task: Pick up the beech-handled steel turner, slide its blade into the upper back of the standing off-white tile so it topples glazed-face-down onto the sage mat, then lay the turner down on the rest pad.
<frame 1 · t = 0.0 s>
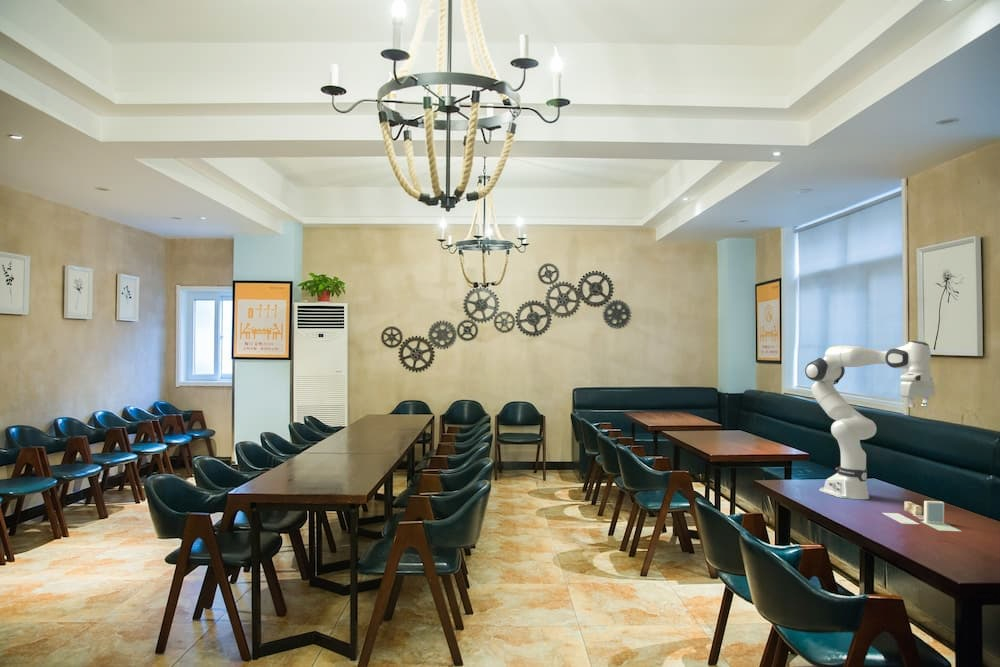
hand: (918, 407, 283), 48 cm above the table, fingers open, 8 cm apart
rest pad: (900, 519, 270), on the table
mat: (940, 526, 260), on the table
tile: (933, 522, 265), resting on mat
turner: (912, 513, 280), on the table
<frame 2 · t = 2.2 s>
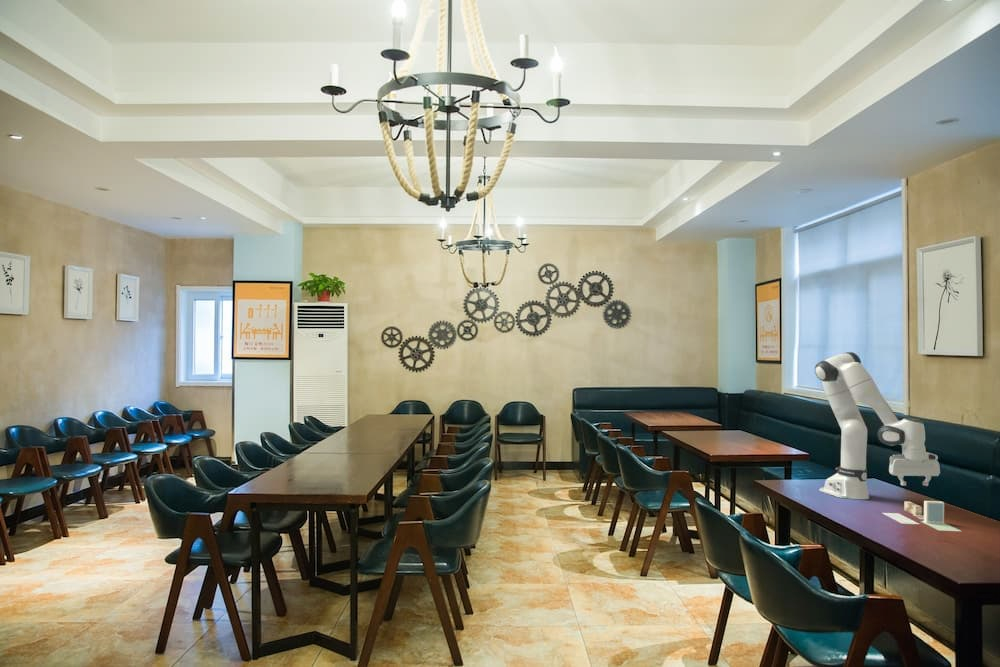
hand: (914, 485, 280), 13 cm above the table, fingers open, 8 cm apart
nothing on the table moved.
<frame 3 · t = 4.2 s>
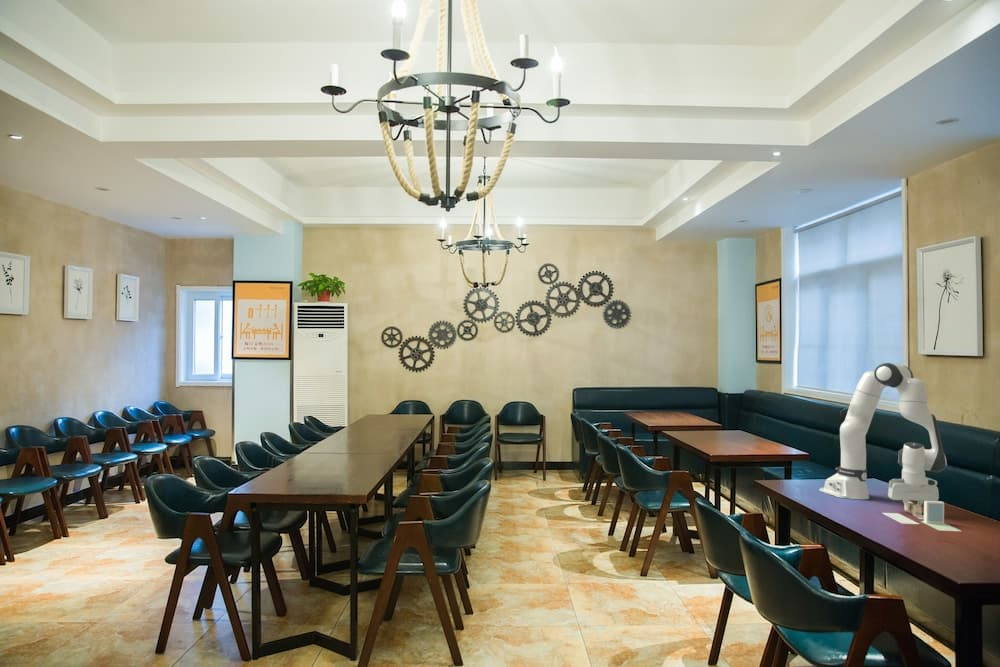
hand: (912, 510, 280), 2 cm above the table, fingers closed on turner, 2 cm apart
turner: (912, 513, 280), on the table, touching gripper
everything else where it was.
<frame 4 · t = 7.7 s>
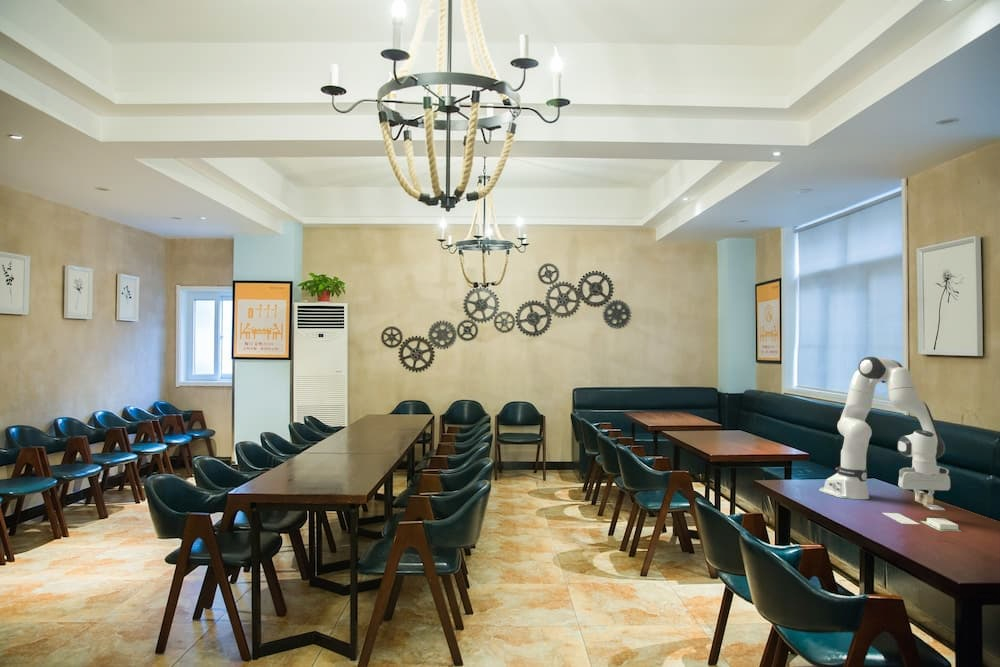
hand: (923, 499, 273), 8 cm above the table, fingers closed on turner, 2 cm apart
tile: (935, 520, 264), point 2 cm above the table, tilted 90°, touching mat
turner: (923, 503, 273), point 7 cm above the table, touching gripper
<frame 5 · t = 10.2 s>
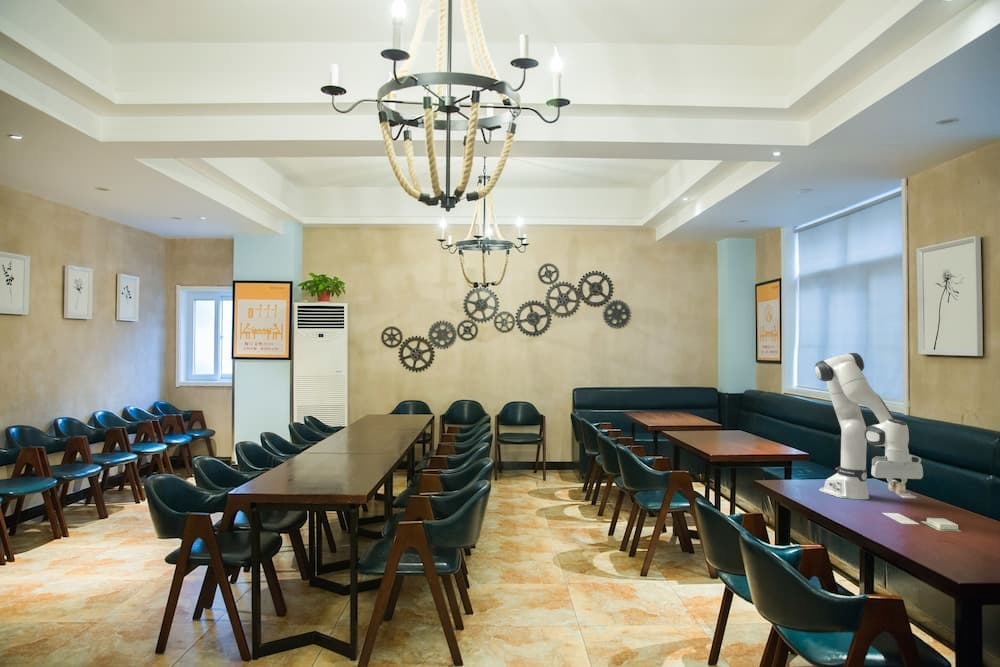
hand: (896, 488, 273), 13 cm above the table, fingers closed on turner, 2 cm apart
turner: (896, 492, 273), point 11 cm above the table, touching gripper
everything else where it was.
when the fingers open (3 cm above the table, at t = 12.2 s): turner stays where it is, resting on rest pad.
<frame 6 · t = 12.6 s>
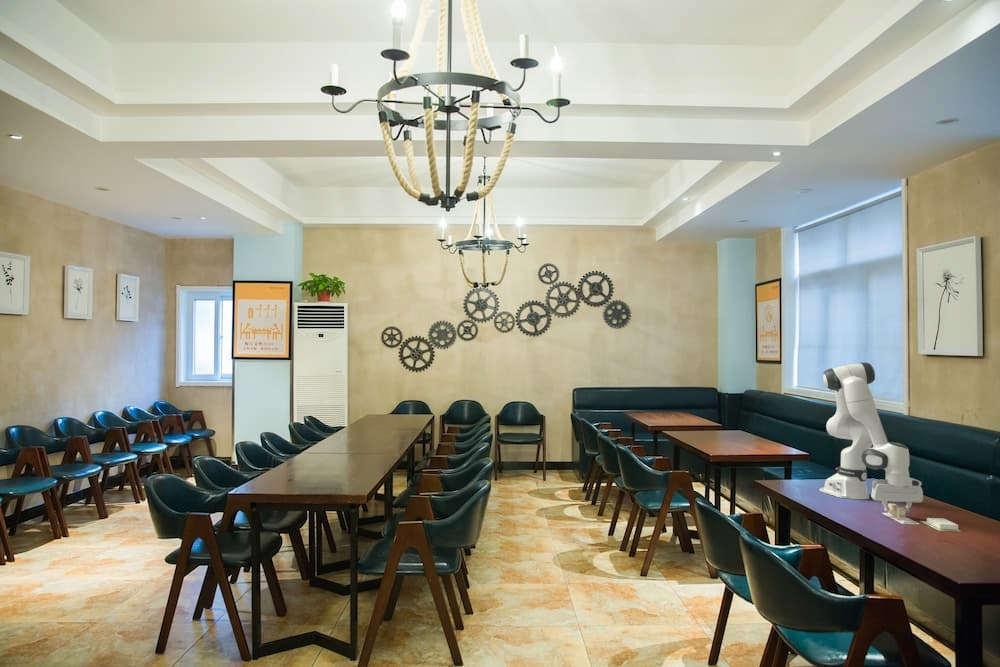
hand: (896, 511, 273), 3 cm above the table, fingers open, 7 cm apart
turner: (896, 516, 273), point 1 cm above the table, touching rest pad
everything else where it was.
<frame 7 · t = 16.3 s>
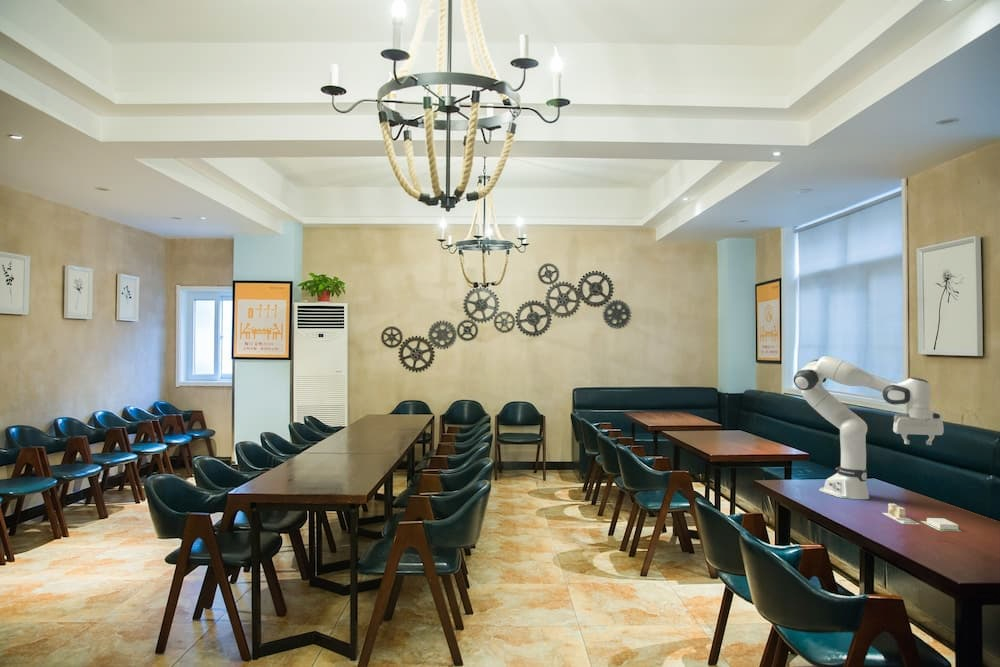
hand: (917, 444, 281), 31 cm above the table, fingers open, 8 cm apart
nothing on the table moved.
at the end: tile tilted 90°; tile 3.4 cm from the mat (horizontally); turner inside the target area on the rest pad (0.5 cm from its centre), point 0.6 cm above the rest pad's base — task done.
